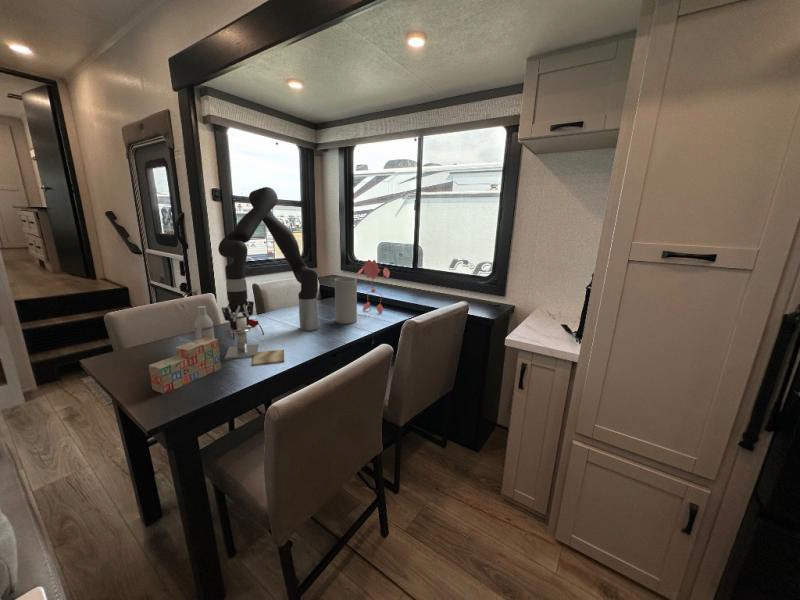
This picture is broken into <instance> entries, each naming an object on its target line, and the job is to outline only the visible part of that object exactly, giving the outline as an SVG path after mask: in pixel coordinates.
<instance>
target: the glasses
mask: <svg viewBox="0 0 800 600" xmlns="http://www.w3.org/2000/svg"><path fill="white" fill-rule="evenodd" d="M248 326H249V327H251V328H255V327H257V326H259V327H260V330H261V333H262V336H264V335H265V333H264V330H263V328H262V326H261V325H260V322H259V321H258V319H256V318H253V319H250V318H249V325H248ZM230 327H231V325H230ZM232 339H233V340H236V336H235V333H232Z"/></svg>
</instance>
